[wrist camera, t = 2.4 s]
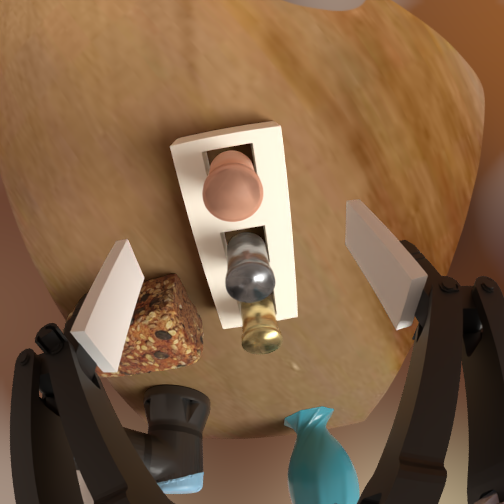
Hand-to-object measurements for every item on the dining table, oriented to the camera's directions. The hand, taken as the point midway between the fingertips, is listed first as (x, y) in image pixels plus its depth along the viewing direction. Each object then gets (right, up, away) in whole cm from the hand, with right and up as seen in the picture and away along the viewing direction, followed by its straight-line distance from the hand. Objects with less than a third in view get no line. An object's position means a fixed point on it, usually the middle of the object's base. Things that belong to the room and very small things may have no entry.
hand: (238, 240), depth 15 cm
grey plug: (0, 0, +15) cm, 15 cm away
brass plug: (+1, -7, +19) cm, 21 cm away
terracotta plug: (-1, +7, +10) cm, 12 cm away
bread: (-16, -9, +24) cm, 31 cm away
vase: (+17, -47, +52) cm, 72 cm away
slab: (0, +2, +18) cm, 18 cm away
